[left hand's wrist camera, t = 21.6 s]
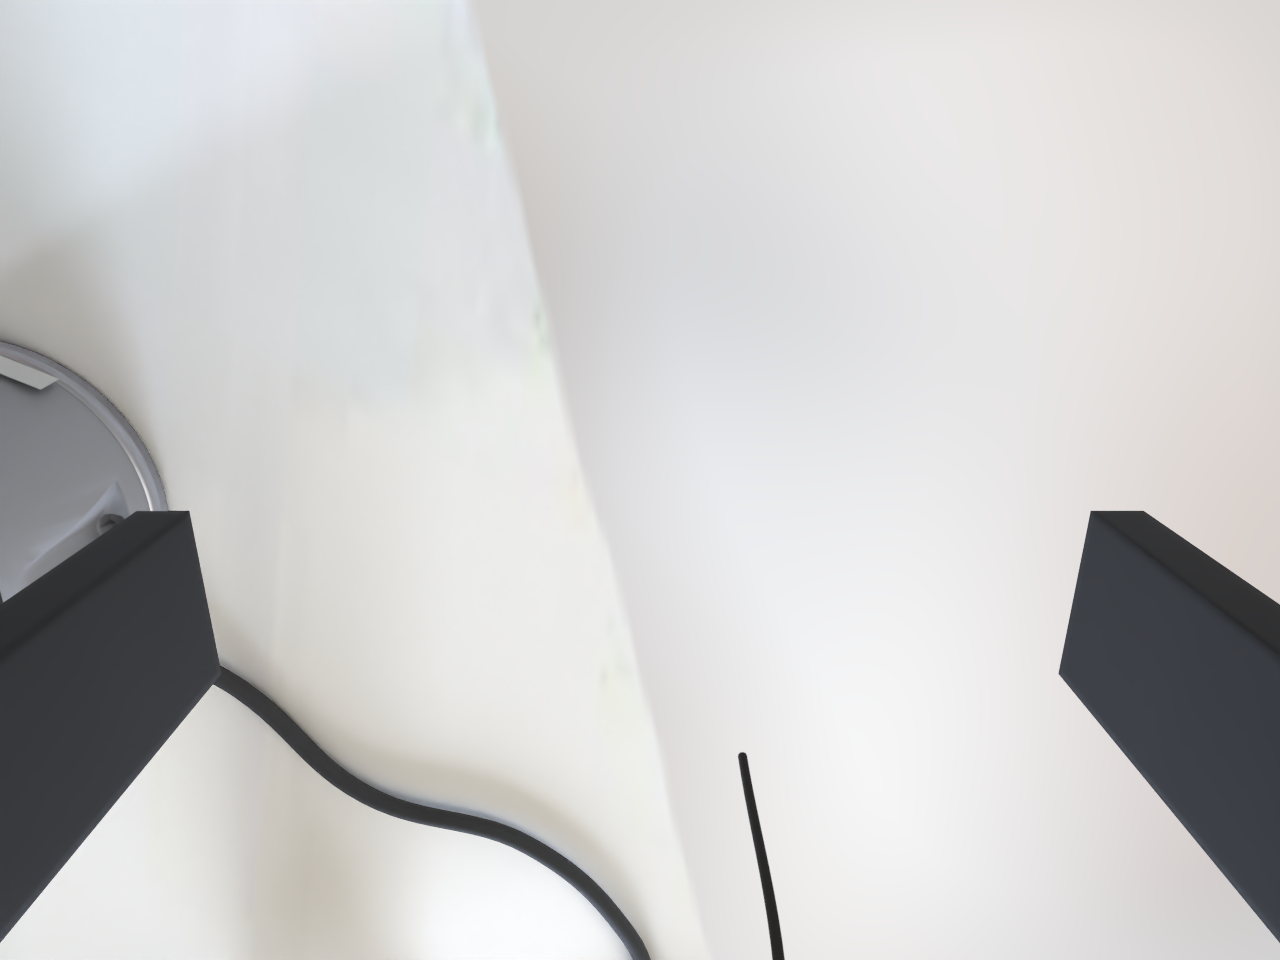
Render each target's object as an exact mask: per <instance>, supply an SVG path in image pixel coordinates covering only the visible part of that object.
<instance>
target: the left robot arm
mask: <svg viewBox="0 0 1280 960" xmlns="http://www.w3.org/2000/svg"><path fill="white" fill-rule="evenodd" d="M1059 675H1060V676H1061V677H1062V678H1063V680H1064V681H1065V682H1066V683H1067V684H1068V686H1069V687H1070V688H1071V689H1072V691H1073V692H1074V693H1075V694H1076V695H1077V697H1078V698H1079V699H1080V700H1081V702H1082V703H1083V704H1084V705H1085V706H1086V708H1087V709H1088V710H1089V711H1090V712H1091V714H1092V715H1093V716H1094V717H1095V719H1096V720H1097V721H1098V722H1099V723H1100V725H1101V726H1102V727H1103V728H1104V729H1105V731H1106V732H1107V733H1108V734H1109V736H1110V737H1111V738H1112V739H1113V740H1114V742H1115V743H1116V744H1117V745H1118V747H1119V748H1120V749H1121V750H1122V751H1123V753H1124V754H1125V755H1126V756H1127V757H1128V759H1129V760H1130V761H1131V762H1132V764H1133V765H1134V766H1135V767H1136V768H1137V770H1138V771H1139V772H1140V773H1141V774H1142V776H1143V777H1144V778H1145V779H1146V781H1147V782H1148V783H1149V784H1150V785H1151V787H1152V788H1153V789H1154V790H1155V792H1156V793H1157V794H1158V795H1159V796H1160V798H1161V799H1162V800H1163V801H1164V802H1165V804H1166V805H1167V806H1168V807H1169V809H1170V810H1171V811H1172V812H1173V813H1174V815H1175V816H1176V817H1177V818H1178V819H1179V821H1180V822H1181V823H1182V824H1183V826H1184V827H1185V828H1186V829H1187V830H1188V832H1189V833H1190V834H1191V835H1192V837H1193V838H1194V839H1195V840H1196V841H1197V843H1198V844H1199V845H1200V846H1201V847H1202V849H1203V850H1204V851H1205V852H1206V854H1207V855H1208V856H1209V857H1210V858H1211V860H1212V861H1213V862H1214V863H1215V864H1216V866H1217V867H1218V868H1219V869H1220V871H1221V872H1222V873H1223V874H1224V875H1225V877H1226V878H1227V879H1228V880H1229V881H1230V883H1231V884H1232V885H1233V886H1234V888H1235V889H1236V890H1237V891H1238V892H1239V894H1240V895H1241V896H1242V897H1243V899H1244V900H1245V901H1246V902H1247V903H1248V905H1249V906H1250V907H1251V908H1252V909H1253V911H1254V912H1255V913H1256V914H1257V916H1258V917H1259V918H1260V919H1261V920H1262V922H1263V923H1264V924H1265V925H1266V927H1267V928H1268V929H1269V930H1270V931H1271V933H1272V934H1273V935H1274V936H1275V937H1276V939H1277V940H1278V941H1279V942H1280V605H1279V604H1278V603H1277V602H1275V601H1274V600H1272V599H1271V598H1269V597H1268V596H1266V595H1265V594H1263V593H1262V592H1260V591H1259V590H1258V589H1256V588H1255V587H1253V586H1252V585H1250V584H1249V583H1247V582H1246V581H1245V580H1243V579H1242V578H1240V577H1239V576H1237V575H1236V574H1234V573H1233V572H1231V571H1230V570H1229V569H1227V568H1226V567H1224V566H1223V565H1221V564H1220V563H1218V562H1217V561H1215V560H1214V559H1212V558H1211V557H1210V556H1208V555H1207V554H1205V553H1204V552H1202V551H1201V550H1199V549H1198V548H1197V547H1195V546H1194V545H1192V544H1191V543H1189V542H1188V541H1186V540H1185V539H1184V538H1182V537H1181V536H1179V535H1178V534H1176V533H1175V532H1173V531H1172V530H1170V529H1169V528H1168V527H1166V526H1165V525H1163V524H1162V523H1160V522H1159V521H1157V520H1156V519H1154V518H1153V517H1152V516H1150V515H1149V514H1147V513H1146V512H1144V511H1091V513H1090V518H1089V523H1088V528H1087V533H1086V538H1085V543H1084V548H1083V554H1082V558H1081V563H1080V569H1079V573H1078V579H1077V584H1076V589H1075V594H1074V599H1073V604H1072V609H1071V614H1070V619H1069V624H1068V629H1067V634H1066V639H1065V644H1064V649H1063V654H1062V659H1061V664H1060V669H1059ZM213 684H214V685H216V686H217V687H219V688H221V689H223V690H224V691H226V692H228V693H229V694H231V695H232V696H234V697H235V698H236V699H238V700H239V701H241V702H242V703H243V704H245V705H246V706H247V707H249V708H250V709H251V710H252V711H254V712H255V713H256V714H257V715H258V716H260V717H261V718H262V719H263V720H264V721H265V722H266V723H267V724H269V725H270V726H271V727H272V728H273V729H274V730H275V731H276V732H277V733H278V734H279V735H280V736H281V737H282V738H283V739H284V740H285V741H286V742H287V743H288V744H289V745H290V746H291V747H292V748H293V749H294V750H295V751H296V752H297V753H298V754H299V755H300V756H301V757H302V758H303V759H304V760H305V761H306V762H307V763H308V764H309V765H310V766H311V767H312V768H313V769H314V770H315V771H317V772H318V773H319V774H320V775H321V776H322V777H324V778H325V779H326V780H328V781H329V782H330V783H331V784H333V785H334V786H335V787H337V788H338V789H340V790H341V791H343V792H344V793H346V794H347V795H349V796H351V797H353V798H354V799H356V800H358V801H359V802H361V803H363V804H365V805H367V806H369V807H372V808H374V809H376V810H378V811H381V812H383V813H386V814H388V815H391V816H394V817H397V818H400V819H404V820H407V821H411V822H415V823H419V824H424V825H429V826H433V827H439V828H444V829H449V830H454V831H459V832H464V833H469V834H473V835H477V836H481V837H485V838H488V839H491V840H494V841H498V842H500V843H503V844H505V845H508V846H510V847H513V848H515V849H517V850H519V851H521V852H523V853H525V854H526V855H528V856H530V857H531V858H533V859H535V860H537V861H538V862H540V863H541V864H543V865H545V866H546V867H548V868H549V869H551V870H552V871H554V872H555V873H557V874H558V875H559V876H561V877H562V878H563V879H565V880H566V881H567V882H569V883H570V884H571V885H572V886H574V887H575V888H576V889H577V890H578V891H579V892H580V893H581V894H582V895H583V896H584V897H585V898H586V899H588V900H589V902H590V903H591V904H592V905H593V906H594V907H595V908H596V909H597V910H598V911H599V912H600V914H601V915H602V916H603V917H604V918H605V920H606V921H607V922H608V923H609V925H610V926H611V927H612V928H613V930H614V931H615V932H616V934H617V935H618V936H619V938H620V939H621V940H622V942H623V943H624V945H625V946H626V948H627V949H628V951H629V953H630V955H631V957H632V959H633V960H650V957H649V954H648V952H647V950H646V948H645V946H644V943H643V941H642V940H641V938H640V937H639V935H638V934H637V932H636V930H635V929H634V928H633V926H632V925H631V924H630V922H629V921H628V920H627V918H626V917H625V916H624V914H623V913H622V912H621V911H620V909H619V908H618V907H617V906H616V904H615V903H614V902H613V901H612V900H611V899H610V897H609V896H608V895H607V894H606V893H605V892H604V891H603V890H602V889H601V888H600V887H599V886H598V885H597V884H596V883H595V882H594V881H593V880H592V879H591V878H590V877H589V876H588V875H587V874H585V873H584V872H583V871H582V870H581V869H579V868H578V867H577V866H576V865H574V864H573V863H572V862H570V861H569V860H568V859H566V858H565V857H563V856H562V855H560V854H559V853H557V852H556V851H554V850H553V849H551V848H550V847H548V846H546V845H545V844H543V843H541V842H540V841H538V840H536V839H534V838H532V837H530V836H529V835H527V834H525V833H523V832H521V831H518V830H516V829H513V828H511V827H509V826H506V825H503V824H500V823H497V822H494V821H491V820H487V819H483V818H479V817H475V816H470V815H466V814H461V813H456V812H450V811H445V810H440V809H435V808H431V807H426V806H422V805H418V804H414V803H410V802H407V801H404V800H401V799H398V798H395V797H393V796H390V795H387V794H385V793H383V792H381V791H379V790H377V789H375V788H373V787H371V786H369V785H367V784H365V783H364V782H362V781H360V780H359V779H357V778H356V777H354V776H353V775H351V774H350V773H348V772H347V771H345V770H344V769H343V768H342V767H340V766H339V765H338V764H336V763H335V762H334V761H333V760H332V759H331V758H330V757H328V756H327V755H326V754H325V753H324V752H323V751H322V750H321V749H320V748H319V747H318V746H317V745H316V744H315V743H314V742H313V741H312V740H311V739H310V738H309V737H308V736H307V735H306V734H305V733H304V732H303V731H302V730H301V729H300V728H299V727H298V726H297V725H296V724H295V723H294V722H293V721H292V720H291V719H290V718H289V717H288V716H287V715H286V714H285V713H284V712H283V711H282V710H281V709H280V708H279V707H278V706H277V705H275V704H274V703H273V702H272V701H271V700H270V699H268V698H267V697H266V696H265V695H264V694H262V693H261V692H260V691H259V690H257V689H256V688H254V687H253V686H252V685H250V684H249V683H248V682H246V681H245V680H243V679H242V678H240V677H239V676H237V675H235V674H234V673H232V672H230V671H229V670H227V669H225V668H223V667H221V666H220V664H219V659H218V654H217V649H216V644H215V639H214V634H213V629H212V624H211V619H210V614H209V609H208V604H207V599H206V594H205V589H204V584H203V579H202V573H201V568H200V563H199V558H198V553H197V548H196V543H195V538H194V533H193V528H192V523H191V518H190V513H189V511H168V506H167V501H166V496H165V492H164V489H163V485H162V482H161V479H160V476H159V474H158V472H157V469H156V467H155V464H154V462H153V460H152V458H151V456H150V454H149V453H148V451H147V449H146V447H145V445H144V444H143V442H142V441H141V439H140V438H139V436H138V435H137V433H136V432H135V430H134V429H133V428H132V427H131V425H130V424H129V423H128V421H127V420H126V419H125V418H124V417H123V416H122V414H121V413H120V412H119V411H118V410H117V409H116V408H115V407H114V406H113V405H112V404H111V403H110V402H109V401H108V400H107V399H106V398H105V397H104V396H103V395H102V394H101V393H100V392H98V391H97V390H96V389H95V388H93V387H92V386H91V385H90V384H88V383H87V382H86V381H84V380H83V379H81V378H80V377H79V376H77V375H76V374H74V373H73V372H71V371H70V370H68V369H66V368H64V367H63V366H61V365H59V364H57V363H56V362H54V361H52V360H50V359H48V358H46V357H44V356H41V355H39V354H37V353H35V352H32V351H29V350H27V349H24V348H21V347H19V346H16V345H12V344H8V343H5V342H1V341H0V942H1V941H2V940H3V939H4V937H5V936H6V935H7V934H8V933H9V931H10V930H11V929H12V928H13V927H14V925H15V924H16V923H17V922H18V920H19V919H20V918H21V917H22V916H23V914H24V913H25V912H26V911H27V909H28V908H29V907H30V906H31V905H32V903H33V902H34V901H35V900H36V899H37V897H38V896H39V895H40V894H41V892H42V891H43V890H44V889H45V888H46V886H47V885H48V884H49V883H50V882H51V880H52V879H53V878H54V877H55V875H56V874H57V873H58V872H59V871H60V869H61V868H62V867H63V866H64V864H65V863H66V862H67V861H68V860H69V858H70V857H71V856H72V855H73V854H74V852H75V851H76V850H77V849H78V847H79V846H80V845H81V844H82V843H83V841H84V840H85V839H86V838H87V837H88V835H89V834H90V833H91V832H92V830H93V829H94V828H95V827H96V826H97V824H98V823H99V822H100V821H101V819H102V818H103V817H104V816H105V815H106V813H107V812H108V811H109V810H110V809H111V807H112V806H113V805H114V804H115V802H116V801H117V800H118V799H119V798H120V796H121V795H122V794H123V793H124V792H125V790H126V789H127V788H128V787H129V785H130V784H131V783H132V782H133V781H134V779H135V778H136V777H137V776H138V774H139V773H140V772H141V771H142V770H143V768H144V767H145V766H146V765H147V764H148V762H149V761H150V760H151V759H152V757H153V756H154V755H155V754H156V753H157V751H158V750H159V749H160V748H161V747H162V745H163V744H164V743H165V742H166V740H167V739H168V738H169V737H170V736H171V734H172V733H173V732H174V731H175V730H176V728H177V727H178V726H179V725H180V723H181V722H182V721H183V720H184V719H185V717H186V716H187V715H188V714H189V712H190V711H191V710H192V709H193V708H194V706H195V705H196V704H197V703H198V702H199V700H200V699H201V698H202V697H203V695H204V694H205V693H206V692H207V691H208V689H209V688H210V687H211V686H212V685H213ZM738 760H739V767H740V773H741V779H742V784H743V790H744V796H745V801H746V806H747V812H748V817H749V822H750V827H751V832H752V837H753V842H754V847H755V853H756V858H757V863H758V868H759V873H760V879H761V884H762V890H763V896H764V902H765V908H766V914H767V921H768V928H769V935H770V943H771V951H772V960H785V958H784V950H783V942H782V936H781V929H780V923H779V916H778V911H777V905H776V900H775V894H774V889H773V883H772V878H771V873H770V868H769V863H768V859H767V854H766V849H765V844H764V840H763V835H762V830H761V825H760V821H759V816H758V811H757V806H756V801H755V796H754V792H753V786H752V781H751V776H750V770H749V765H748V759H747V755H746V753H744V752H740V753H739V754H738Z"/></svg>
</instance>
